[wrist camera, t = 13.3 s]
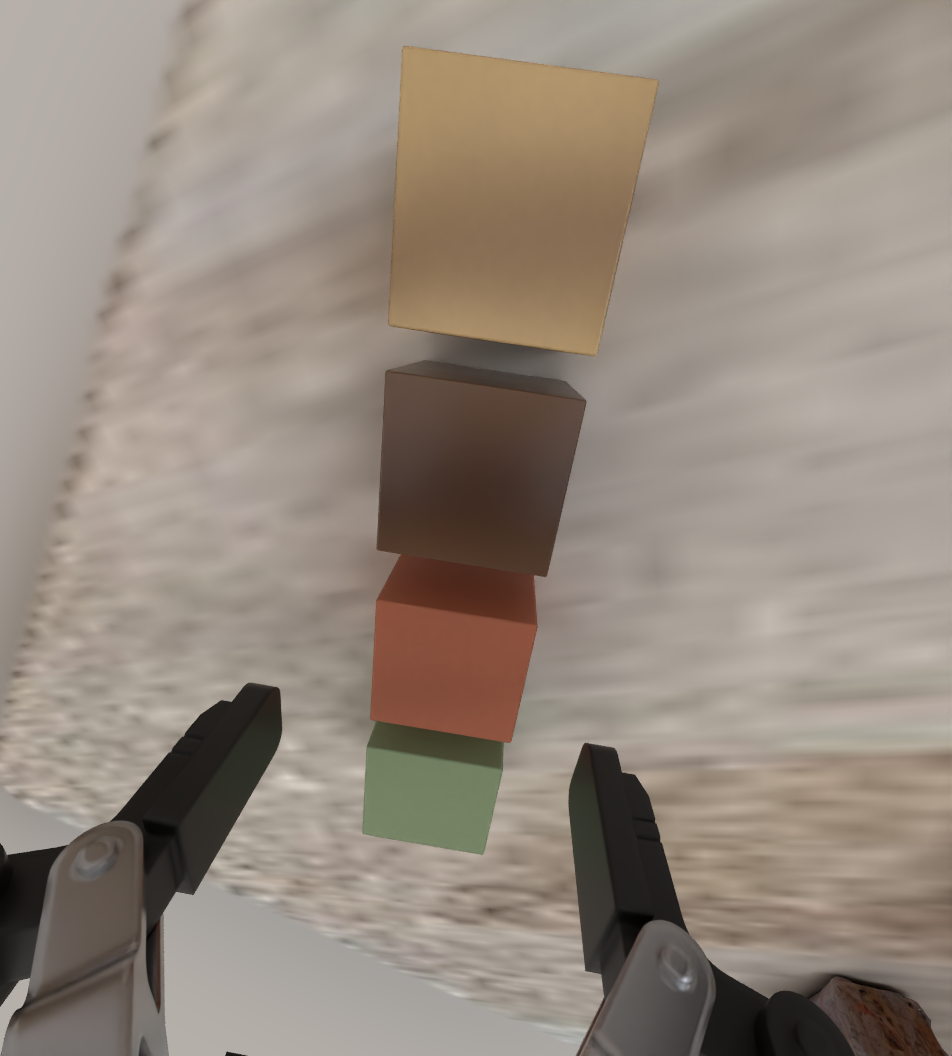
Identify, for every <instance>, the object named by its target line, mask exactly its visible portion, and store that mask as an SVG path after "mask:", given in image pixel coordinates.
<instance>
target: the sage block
mask: <svg viewBox="0 0 952 1056" xmlns="http://www.w3.org/2000/svg"><path fill="white" fill-rule="evenodd" d="M503 748H504V742H501V741H495V740H489V739H483V738H477V737H471V736H465V735H459V734H453V733H447V732H441V731H435V730H429V729H423V728H417V727H411V726H405V725H399V724H393V723H387V722H381V721H376V723H375V726H374V728H373V731H372V734H371V737H370V739H369V742H368V745H367V752H366V772H365V792H364V811H363V831H362V832H363V834H365V835H370V836H376V837H382V838H388V839H393V840H399V841H405V842H411V843H417V844H422V845H428V846H434V847H440V848H445V849H451V850H457V851H463V852H469V853H474V854H480V855H483V854H484V851H485V846H486V842H487V837H488V833H489V829H490V824H491V820H492V815H493V811H494V807H495V802H496V798H497V793H498V789H499V785H500V780H501V776H502V771H503Z"/></svg>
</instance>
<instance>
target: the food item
mask: <svg viewBox="0 0 952 1056" xmlns="http://www.w3.org/2000/svg"><path fill="white" fill-rule="evenodd" d="M809 1000H810V1001H812V1002H813V1003H815V1004H816V1005H817V1006H818V1007H819V1008H821V1009H822V1010H823V1011H824V1012H825V1013H826V1014H827V1015H828V1016H829V1017H830V1018H831V1019H832V1021H833V1022H834V1023H835V1024H836V1025H837V1027H838V1028H839V1029H840V1031H841V1032H842V1034H843V1035H844V1036H845V1038H846V1040H847V1041H848V1043H849V1045H850V1046H851V1048H852V1050H853V1052H854V1054H855V1056H948V1054H947V1053H946V1052H945V1051H944V1050H943V1049H942V1047H941V1046H940V1044H939V1042H938V1041H937V1039H936V1038H935V1036H934V1033H933V1031H932V1029H931V1020H930V1019H929V1018H928V1016H927V1015H926V1014H925V1012H924V1011H923V1010H922V1008H921V1007H920V1006H919V1004H918V1003H917V1002H915V1001H913V1000H911V999H908V998H906V997H903V996H901V995H899V994H897V993H896V992H891V991H886V990H879V989H876V988H871V987H868V986H866V985H858V984H854V983H852V982H851V981H849V980H848V979H846V978H842V977H838V976H836V977H834V978H832V979H831V980H830V982H829V983H828V984H827V985H826V986H825V987H824V988H823V989H822V991H820V992H819V993H817V994H815V995H814V996H812V997H811V998H810V999H809ZM919 1009H921V1010H919Z"/></svg>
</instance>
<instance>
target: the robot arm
mask: <svg viewBox="0 0 952 1056" xmlns="http://www.w3.org/2000/svg"><path fill="white" fill-rule="evenodd" d="M281 734H282V716H281V697H280V689H279V688H278V687H273V686H267V685H261V684H256V683H248V684H246V685H245V686H244V687H243V688H242V690H241V691H240V692H239V693H238V695H237V696H236V697H235V699H234V700H233V701H232V702H229V701H223V700H221V701H220V702H218V703H217V704H215V705H214V706H212V707H211V708H209V709H208V710H206V711H205V712H204V713H202V714H201V715H200V716H199V717H198V718H197V719H196V721H195V722H194V723H193V724H192V725H191V727H190V728H189V729H188V730H187V731H186V733H185V736H184V737H181V739H180V740H179V741H178V742H177V743H176V745H175V746H174V747H173V748H172V751H171V753H168V754H167V756H166V757H165V758H164V759H163V760H162V762H161V763H160V764H159V765H158V766H157V768H156V769H155V770H154V771H153V772H152V774H151V775H150V776H149V777H148V778H147V780H146V781H145V782H144V783H143V785H142V786H141V787H140V788H139V789H138V791H137V792H136V793H135V794H134V795H133V797H132V798H131V799H130V800H129V801H128V803H127V804H126V805H125V806H124V807H123V809H122V810H121V811H120V812H119V813H118V814H117V815H116V816H115V817H114V818H113V819H112V820H111V821H110V822H107V823H104V824H101V825H98V826H96V827H93V828H92V829H90V830H88V831H86V832H84V833H83V834H81V835H80V836H78V837H77V838H76V839H75V840H73V841H72V842H71V843H70V844H69V845H66V846H61V847H57V848H50V849H44V850H37V851H30V852H24V853H17V854H11V855H7V854H6V852H5V850H4V848H3V846H2V845H1V844H0V1006H1V1005H2V1004H3V1002H4V1001H5V999H6V998H7V997H8V995H9V994H10V993H11V991H12V990H13V988H14V987H15V986H16V984H17V983H18V981H19V980H23V979H28V978H30V982H29V988H28V993H27V997H26V1000H25V1002H24V1005H23V1006H22V1007H21V1008H20V1009H18V1010H16V1011H15V1013H14V1014H13V1015H12V1017H11V1019H10V1022H9V1025H8V1027H7V1031H6V1034H5V1038H4V1043H3V1047H2V1052H1V1056H169V1054H168V1044H167V1036H166V1028H165V999H164V917H163V912H164V910H165V909H166V907H167V905H168V904H169V902H170V900H171V899H172V897H173V896H174V894H175V892H180V893H186V894H192V895H194V893H195V891H196V890H197V888H198V886H199V884H200V883H201V881H202V879H203V877H204V876H205V874H206V872H207V871H208V869H209V867H210V865H211V864H212V862H213V860H214V858H215V857H216V855H217V853H218V851H219V850H220V848H221V846H222V845H223V843H224V841H225V839H226V838H227V836H228V834H229V832H230V831H231V829H232V827H233V825H234V824H235V822H236V820H237V819H238V817H239V815H240V813H241V812H242V810H243V808H244V806H245V805H246V803H247V801H248V799H249V798H250V796H251V794H252V793H253V791H254V789H255V787H256V786H257V784H258V782H259V780H260V779H261V777H262V775H263V773H264V772H265V770H266V768H267V767H268V765H269V763H270V761H271V760H272V758H273V756H274V754H275V752H276V750H277V748H278V745H279V742H280V739H281ZM569 816H570V825H571V835H572V845H573V855H574V864H575V874H576V884H577V894H578V903H579V913H580V923H581V932H582V942H583V952H584V962H585V971H588V972H593V973H599V974H601V975H602V983H603V991H604V998H603V1000H602V1002H601V1004H600V1006H599V1008H598V1010H597V1012H596V1015H595V1017H594V1019H593V1021H592V1023H591V1025H590V1027H589V1029H588V1031H587V1033H586V1035H585V1037H584V1039H583V1042H582V1044H581V1046H580V1048H579V1050H578V1052H577V1054H576V1056H855V1054H854V1052H853V1050H852V1048H851V1046H850V1045H849V1043H848V1041H847V1040H846V1038H845V1036H844V1035H843V1034H842V1032H841V1031H840V1029H839V1028H838V1027H837V1025H836V1024H835V1023H834V1022H833V1021H832V1019H831V1018H830V1017H829V1016H828V1015H827V1014H826V1013H825V1012H824V1011H823V1010H822V1009H821V1008H819V1007H818V1006H817V1005H816V1004H815V1003H813V1002H812V1001H810V1000H809V999H807V998H806V997H804V996H802V995H800V994H797V993H795V992H791V991H780V992H777V993H775V994H774V995H773V996H772V997H771V998H770V999H768V998H766V997H765V996H763V995H761V994H759V993H758V992H756V991H754V990H753V989H751V988H749V987H747V986H746V985H744V984H742V983H740V982H739V981H737V980H735V979H733V978H732V977H730V976H728V975H727V974H725V973H724V972H722V971H721V970H719V969H718V968H717V967H716V966H714V965H713V964H712V963H711V962H710V961H709V960H708V959H707V957H706V956H705V954H704V952H703V951H702V949H701V948H700V946H699V945H698V944H697V942H696V941H695V940H694V939H693V938H692V937H691V936H690V934H689V932H688V930H687V928H686V926H685V923H684V920H683V917H682V914H681V910H680V907H679V903H678V900H677V896H676V892H675V889H674V885H673V882H672V878H671V874H670V871H669V867H668V864H667V860H666V856H665V853H664V849H663V845H662V843H661V842H660V835H659V831H658V827H657V824H656V823H655V817H654V813H653V809H652V806H651V802H650V799H649V796H648V794H647V792H646V791H645V789H644V788H643V786H642V785H641V783H640V782H639V780H638V779H637V777H636V776H635V775H633V774H627V773H622V771H621V767H620V763H619V758H618V754H617V751H616V750H615V748H612V747H606V746H601V745H595V744H589V743H585V744H584V745H583V747H582V750H581V753H580V756H579V758H578V761H577V764H576V767H575V770H574V773H573V776H572V779H571V783H570V788H569ZM225 1056H246V1055H241V1054H236V1053H231V1052H227V1053H226V1055H225Z"/></svg>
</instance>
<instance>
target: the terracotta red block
mask: <svg viewBox="0 0 952 1056" xmlns="http://www.w3.org/2000/svg"><path fill="white" fill-rule="evenodd" d="M537 627H538V626H537V612H536V599H535V585H534V575H530V574H524V573H518V572H512V571H505V570H499V569H493V568H486V567H480V566H474V565H468V564H461V563H455V562H449V561H442V560H436V559H430V558H423V557H417V556H411V555H405V554H401V555H400V557H399V559H398V561H397V563H396V565H395V567H394V568H393V570H392V572H391V574H390V576H389V578H388V580H387V582H386V583H385V585H384V587H383V589H382V591H381V593H380V595H379V597H378V599H377V600H376V617H375V636H374V656H373V675H372V694H371V714H370V719H371V720H375V721H381V722H387V723H393V724H399V725H405V726H411V727H417V728H423V729H429V730H435V731H441V732H447V733H453V734H459V735H465V736H471V737H477V738H483V739H489V740H495V741H501V742H507V743H510V742H511V741H512V737H513V732H514V728H515V724H516V719H517V715H518V710H519V706H520V702H521V697H522V693H523V688H524V684H525V680H526V675H527V671H528V666H529V662H530V658H531V653H532V649H533V644H534V640H535V636H536V631H537Z"/></svg>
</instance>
